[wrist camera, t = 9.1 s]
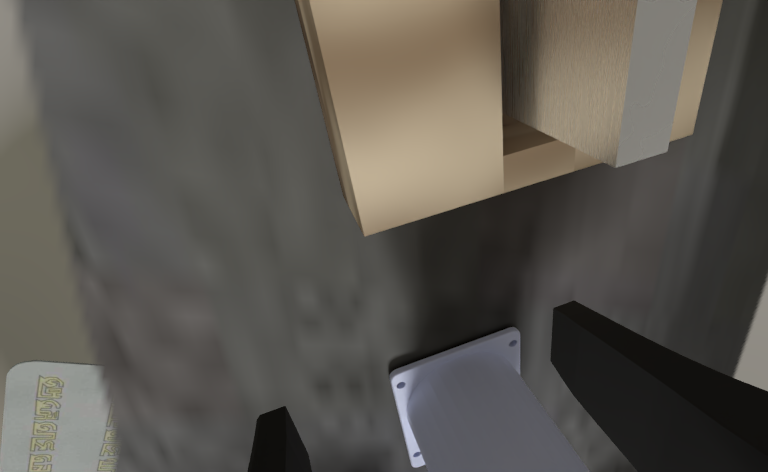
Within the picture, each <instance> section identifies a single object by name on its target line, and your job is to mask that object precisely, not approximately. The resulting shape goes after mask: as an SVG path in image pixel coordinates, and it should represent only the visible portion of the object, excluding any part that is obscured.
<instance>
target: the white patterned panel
mask: <svg viewBox="0 0 768 472" xmlns="http://www.w3.org/2000/svg"><path fill="white" fill-rule="evenodd" d="M114 466H115V450H114V446H113V428H112V425H111V423H110V417H109V408H108V405H107V404H106V400H105V391H104V388H103V386H102V384H101V381H100V375H99V371H98V369H97V367H96V365H95V364H87V363H73V362H58V361H42V360H31V361H24V362H20V363H17V364H16V365H14V366H13V367H12V368H11V369H10V370H9V372H8V373H7V377H6V389H5V401H4V413H3V425H2V436H1V448H0V472H114Z"/></svg>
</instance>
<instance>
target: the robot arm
mask: <svg viewBox="0 0 768 472" xmlns="http://www.w3.org/2000/svg"><path fill="white" fill-rule="evenodd" d="M551 362H552V364H553V365H554V367H555V368H556V370H557V371H558V373H559V374H560V376H561V378H562V379H563V381H564V382H565V384H566V385H567V386H568V388H569V389H570V391H571V392H572V394H573V395H574V396H575V398H576V399H577V400H578V401H579V402H580V404H581V405H582V406H583V407H584V408H585V410H586V411H587V412H588V413H589V414H590V416H591V417H592V418H593V419H594V420H595V422H596V423H597V424H598V425H599V426H600V427H601V429H602V430H603V431H604V432H605V433H606V435H607V436H608V437H609V438H610V439H611V440H612V442H613V443H614V444H615V445H616V446H617V447H618V449H619V450H620V451H621V452H622V453H623V455H624V456H625V457H626V458H627V459H628V460H629V462H630V463H631V464H632V465H633V466H634V468H635V469H636V470H637V471H638V472H768V391H765V390H762V389H760V388H757V387H755V386H752V385H750V384H747V383H744V382H742V381H739V380H737V379H734V378H732V377H730V376H727V375H725V374H722V373H720V372H718V371H715V370H713V369H711V368H709V367H706V366H704V365H702V364H700V363H697V362H695V361H693V360H691V359H688V358H686V357H684V356H682V355H680V354H678V353H676V352H674V351H671V350H669V349H667V348H665V347H663V346H661V345H659V344H657V343H655V342H653V341H651V340H649V339H647V338H645V337H643V336H641V335H639V334H637V333H635V332H633V331H631V330H629V329H627V328H626V327H624V326H622V325H620V324H618V323H616V322H614V321H612V320H610V319H608V318H606V317H605V316H603V315H601V314H599V313H597V312H595V311H593V310H591V309H589V308H587V307H585V306H584V305H582V304H580V303H578V302H576V301H572V302H569V303H566V304H563V305H561V306H558V307H555V308H554V309H553V327H552V345H551ZM389 378H390V382H391V386H392V390H393V394H394V398H395V402H396V407H397V411H398V415H399V419H400V423H401V427H402V431H403V435H404V439H405V443H406V447H407V451H408V455H409V459H410V462H411V465H412V466H413V467H420V466H423V465H426V467H427V470H428V472H590V471H589V469H588V468H587V467H586V465H585V464H584V463H583V461H582V460H581V458H580V457H579V456H578V454H577V453H576V452H575V450H574V449H573V448H572V446H571V445H570V443H569V442H568V441H567V439H566V438H565V437H564V435H563V434H562V432H561V431H560V430H559V428H558V427H557V426H556V424H555V423H554V422H553V420H552V419H551V417H550V416H549V415H548V413H547V412H546V411H545V409H544V408H543V407H542V405H541V404H540V402H539V401H538V400H537V398H536V397H535V396H534V394H533V393H532V391H531V390H530V389H529V387H528V386H527V385H526V383H525V382H524V381H523V379H522V378H521V376H520V332H519V331H518V329H517V328H515V327H510V328H507V329H504V330H501V331H499V332H496V333H493V334H490V335H488V336H485V337H482V338H479V339H477V340H474V341H471V342H468V343H466V344H463V345H460V346H458V347H455V348H452V349H449V350H447V351H444V352H441V353H438V354H436V355H433V356H430V357H428V358H425V359H422V360H419V361H417V362H414V363H411V364H408V365H406V366H403V367H400V368H397V369H395V370H393V371H392V372H391V374H390V375H389ZM248 472H312V470H311V465H310V460H309V456H308V453H307V451H306V448H305V446H304V444H303V442H302V440H301V438H300V436H299V434H298V432H297V429H296V427H295V425H294V423H293V421H292V419H291V417H290V415H289V412H288V410H287V408H286V406H284V407H281V408H278V409H276V410H273V411H270V412H267V413H265V414H262V415H260V416H259V418H258V419H257V423H256V430H255V436H254V442H253V448H252V453H251V458H250V463H249V467H248Z"/></svg>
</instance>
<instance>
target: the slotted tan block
mask: <svg viewBox="0 0 768 472" xmlns="http://www.w3.org/2000/svg"><path fill="white" fill-rule="evenodd" d="M722 2H723V0H697V5H696V10H695V15H694V20H693V25H692V30H691V35H690V40H689V45H688V50H687V55H686V60H685V65H684V70H683V75H682V80H681V85H680V90H679V95H678V100H677V105H676V110H675V115H674V120H673V125H672V130H671V135H670V141H673V140H676V139H679V138H683V137H686V136H689V135H692V134H693V130H694V126H695V121H696V117H697V113H698V108H699V104H700V99H701V95H702V90H703V86H704V81H705V77H706V73H707V68H708V64H709V59H710V55H711V50H712V46H713V41H714V37H715V33H716V28H717V24H718V19H719V15H720V10H721V6H722ZM295 4H296V8H297V12H298V16H299V20H300V24H301V28H302V32H303V36H304V40H305V44H306V48H307V52H308V56H309V60H310V64H311V68H312V72H313V76H314V80H315V84H316V88H317V92H318V96H319V100H320V104H321V108H322V112H323V116H324V120H325V124H326V128H327V132H328V136H329V140H330V144H331V148H332V152H333V156H334V160H335V164H336V168H337V172H338V176H339V180H340V184H341V188H342V192H343V196H344V198H345V200H346V202H347V204H348V206H349V208H350V210H351V212H352V214H353V215H354V217H355V219H356V221H357V223H358V225H359V227H360V229H361V231H362V233H363V235H364V237H365V236H368V235H371V234H374V233H378V232H381V231H384V230H387V229H390V228H394V227H397V226H400V225H403V224H406V223H410V222H413V221H416V220H419V219H423V218H426V217H429V216H432V215H435V214H439V213H442V212H445V211H448V210H451V209H455V208H458V207H461V206H464V205H467V204H471V203H474V202H477V201H480V200H484V199H487V198H490V197H493V196H496V195H500V194H503V193H506V192H509V191H512V190H516V189H519V188H522V187H525V186H529V185H532V184H535V183H538V182H541V181H545V180H548V179H551V178H554V177H557V176H561V175H564V174H567V173H570V172H573V171H577V170H580V169H583V168H586V167H590V166H593V165H596V164H599V163H602V161H600V160H598V159H596V158H594V157H592V156H590V155H588V154H586V153H584V152H582V151H580V150H578V149H576V148H574V147H572V146H570V145H568V144H566V143H563V142H561V141H559V140H557V139H555V138H553V137H551V136H549V135H547V134H545V133H543V132H541V131H539V130H537V129H535V128H533V127H531V126H529V125H526V124H524V123H522V122H520V121H518V120H516V119H514V118H512V117H510V116H508V115H506V114H504V113H502V84H501V39H500V0H295ZM670 141H669V142H670Z"/></svg>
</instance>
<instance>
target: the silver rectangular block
mask: <svg viewBox="0 0 768 472" xmlns="http://www.w3.org/2000/svg"><path fill="white" fill-rule="evenodd" d="M696 5H697V0H500V39H501V84H502V113H504V114H506V115H508V116H510V117H512V118H514V119H516V120H518V121H520V122H522V123H524V124H526V125H529V126H531V127H533V128H535V129H537V130H539V131H541V132H543V133H545V134H547V135H549V136H551V137H553V138H555V139H557V140H559V141H561V142H563V143H566V144H568V145H570V146H572V147H574V148H576V149H578V150H580V151H582V152H584V153H586V154H588V155H590V156H592V157H594V158H596V159H598V160H600V161H602V162H605V163H607V164H609V165H611V166H613V167H615V168H617V167H620V166H623V165H626V164H629V163H633V162H636V161H639V160H642V159H645V158H649V157H652V156H655V155H658V154H661V153H665V152H667V151H668V146H669V141H670V135H671V130H672V125H673V120H674V115H675V110H676V105H677V100H678V95H679V90H680V85H681V80H682V75H683V70H684V65H685V60H686V55H687V50H688V45H689V40H690V35H691V30H692V25H693V20H694V15H695V10H696Z"/></svg>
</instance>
